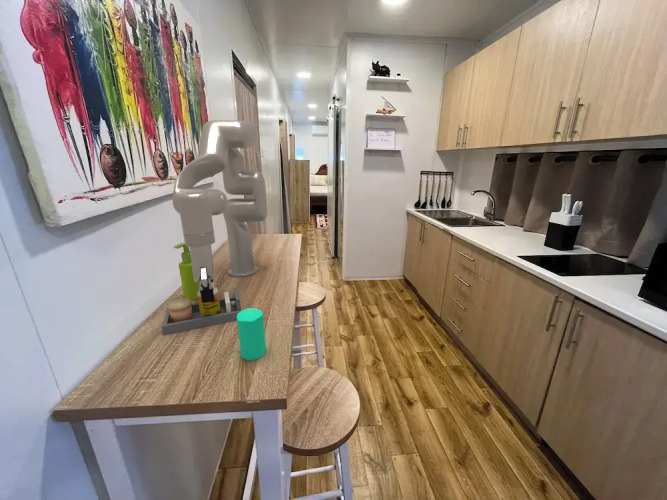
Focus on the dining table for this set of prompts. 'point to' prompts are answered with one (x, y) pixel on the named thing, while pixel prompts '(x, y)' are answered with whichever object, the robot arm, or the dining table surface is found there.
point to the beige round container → (180, 310)
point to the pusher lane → (203, 321)
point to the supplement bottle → (209, 304)
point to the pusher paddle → (227, 302)
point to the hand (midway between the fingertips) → (208, 294)
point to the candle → (251, 333)
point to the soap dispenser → (187, 274)
